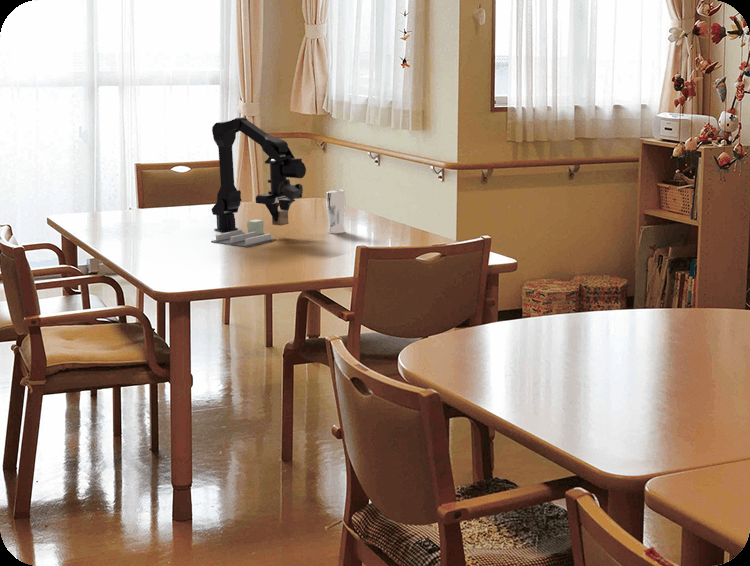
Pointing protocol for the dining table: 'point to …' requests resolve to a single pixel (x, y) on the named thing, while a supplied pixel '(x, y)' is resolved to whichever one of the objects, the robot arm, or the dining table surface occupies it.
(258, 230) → the sage block
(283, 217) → the walnut block
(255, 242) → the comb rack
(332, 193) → the white tall carton
